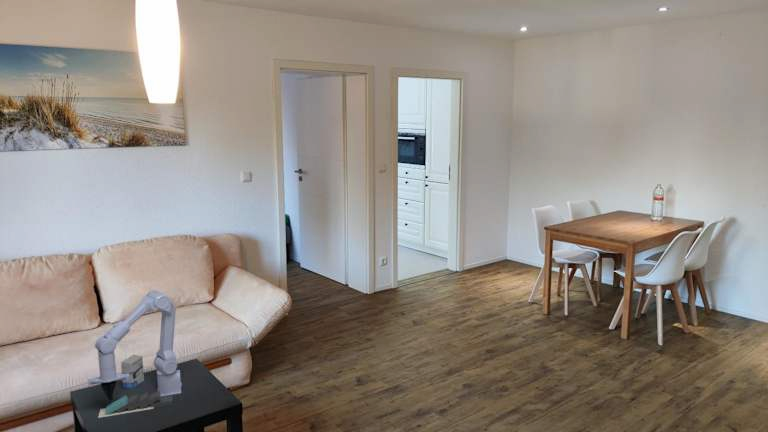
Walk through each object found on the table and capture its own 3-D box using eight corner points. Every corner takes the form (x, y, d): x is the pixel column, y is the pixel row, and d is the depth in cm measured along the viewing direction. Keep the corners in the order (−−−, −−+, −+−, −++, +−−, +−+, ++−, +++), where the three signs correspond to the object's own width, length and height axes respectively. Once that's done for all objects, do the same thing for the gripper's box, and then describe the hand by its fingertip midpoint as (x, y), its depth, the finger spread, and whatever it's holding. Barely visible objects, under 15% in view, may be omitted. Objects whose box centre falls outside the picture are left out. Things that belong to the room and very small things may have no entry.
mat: (154, 400, 231) (154, 400, 231) (153, 408, 224) (153, 408, 224) (100, 409, 224) (100, 409, 224) (98, 418, 218) (98, 417, 217)
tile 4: (141, 403, 228) (160, 393, 230) (140, 409, 224) (160, 398, 226) (139, 400, 228) (158, 390, 230) (138, 406, 223) (158, 395, 225)
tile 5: (151, 401, 230) (172, 398, 232) (151, 407, 225) (172, 404, 228) (151, 398, 229) (172, 395, 232) (151, 403, 225) (172, 400, 227)
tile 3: (130, 405, 227) (149, 395, 229) (129, 411, 222) (149, 400, 224) (128, 402, 226) (147, 392, 228) (127, 408, 222) (147, 397, 224)
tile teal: (108, 408, 224) (128, 398, 226) (107, 414, 219) (127, 404, 221) (106, 405, 224) (126, 395, 226) (105, 411, 219) (124, 400, 221)
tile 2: (119, 407, 226) (139, 396, 227) (118, 413, 221) (138, 402, 223) (117, 403, 225) (136, 393, 227) (116, 409, 220) (136, 399, 222)
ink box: (132, 389, 241) (130, 363, 239) (122, 388, 242) (120, 362, 240) (144, 380, 250) (142, 355, 248) (134, 379, 250) (132, 354, 249)
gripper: (128, 359, 225) (131, 391, 228) (88, 365, 220) (91, 397, 223) (127, 366, 219) (130, 399, 221) (85, 372, 214) (89, 405, 216)
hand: (110, 399), depth 221 cm, fingers closed
